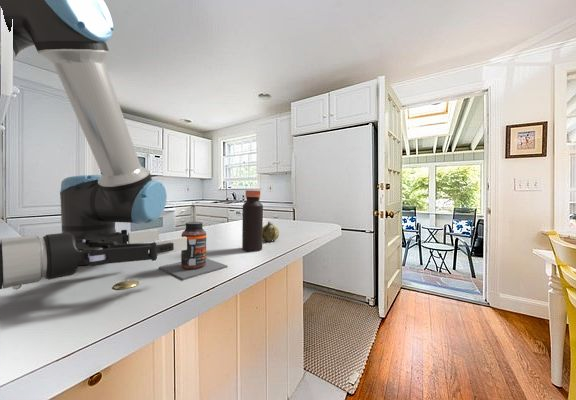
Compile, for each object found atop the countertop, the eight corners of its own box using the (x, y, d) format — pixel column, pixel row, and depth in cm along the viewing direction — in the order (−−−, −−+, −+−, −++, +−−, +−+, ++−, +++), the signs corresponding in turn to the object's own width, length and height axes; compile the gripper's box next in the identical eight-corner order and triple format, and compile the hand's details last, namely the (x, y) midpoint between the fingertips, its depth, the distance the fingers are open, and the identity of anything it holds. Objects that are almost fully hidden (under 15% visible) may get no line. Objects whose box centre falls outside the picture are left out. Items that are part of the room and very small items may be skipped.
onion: (283, 240, 96) (284, 221, 95) (269, 244, 90) (269, 222, 89) (270, 238, 101) (270, 219, 100) (255, 240, 95) (256, 220, 94)
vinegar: (238, 249, 81) (238, 190, 80) (253, 245, 86) (253, 190, 85) (251, 253, 76) (252, 190, 76) (266, 249, 82) (267, 190, 81)
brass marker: (110, 285, 49) (110, 284, 49) (134, 279, 53) (134, 278, 53) (117, 291, 47) (117, 290, 47) (142, 284, 50) (142, 283, 50)
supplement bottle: (197, 271, 58) (197, 224, 57) (175, 269, 59) (175, 223, 58) (210, 263, 64) (210, 221, 63) (190, 262, 65) (190, 220, 64)
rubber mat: (159, 268, 60) (159, 266, 60) (202, 258, 70) (202, 256, 70) (182, 280, 53) (182, 278, 53) (227, 267, 62) (227, 265, 62)
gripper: (33, 264, 47) (148, 245, 64) (56, 303, 32) (200, 265, 49) (32, 226, 47) (148, 218, 64) (55, 247, 32) (200, 228, 48)
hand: (171, 238), depth 56 cm, fingers open, 13 cm apart
